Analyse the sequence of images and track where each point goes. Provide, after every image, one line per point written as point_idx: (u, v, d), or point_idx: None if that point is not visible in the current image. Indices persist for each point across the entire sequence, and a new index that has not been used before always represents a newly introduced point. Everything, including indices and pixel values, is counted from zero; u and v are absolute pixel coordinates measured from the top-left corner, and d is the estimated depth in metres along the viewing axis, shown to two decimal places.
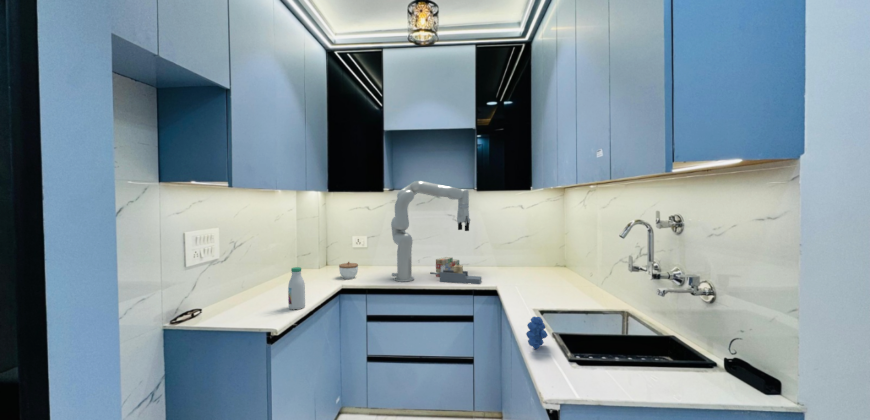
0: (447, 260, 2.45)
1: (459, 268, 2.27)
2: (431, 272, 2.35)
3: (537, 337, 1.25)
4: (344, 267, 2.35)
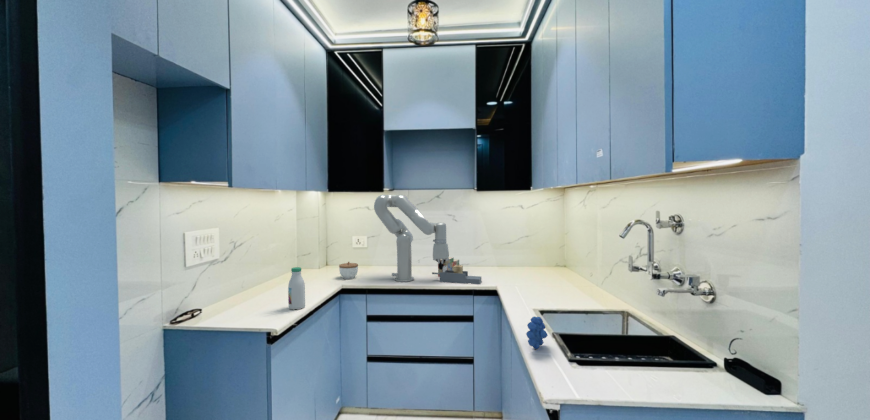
0: (449, 260, 2.45)
1: (459, 268, 2.27)
2: (433, 272, 2.34)
3: (537, 337, 1.25)
4: (344, 267, 2.35)
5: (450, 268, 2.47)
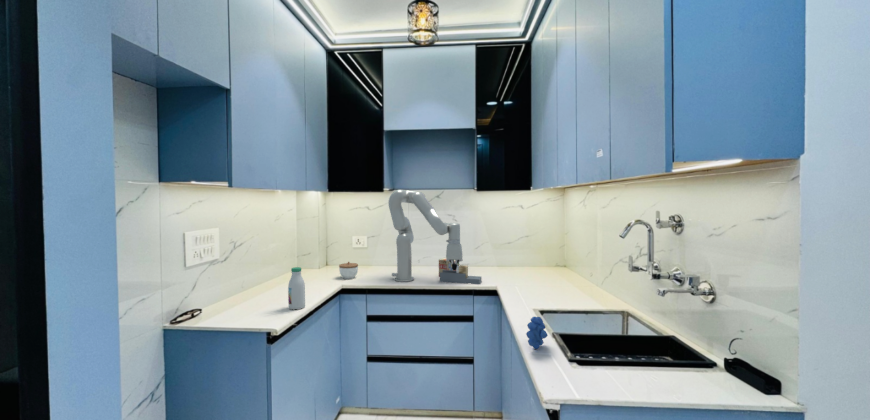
0: None
1: (464, 268, 2.26)
2: None
3: (537, 337, 1.25)
4: (344, 267, 2.35)
5: (450, 268, 2.47)
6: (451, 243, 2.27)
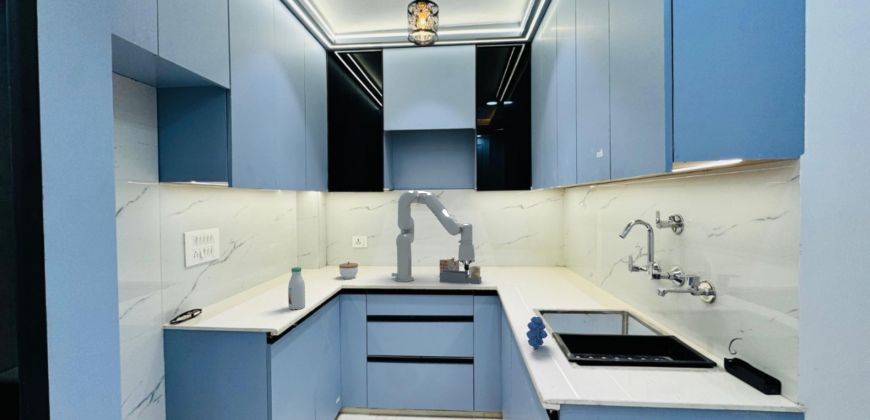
0: (450, 260, 2.46)
1: (477, 269, 2.24)
2: None
3: (537, 337, 1.25)
4: (344, 267, 2.35)
5: (451, 268, 2.47)
6: (463, 244, 2.25)
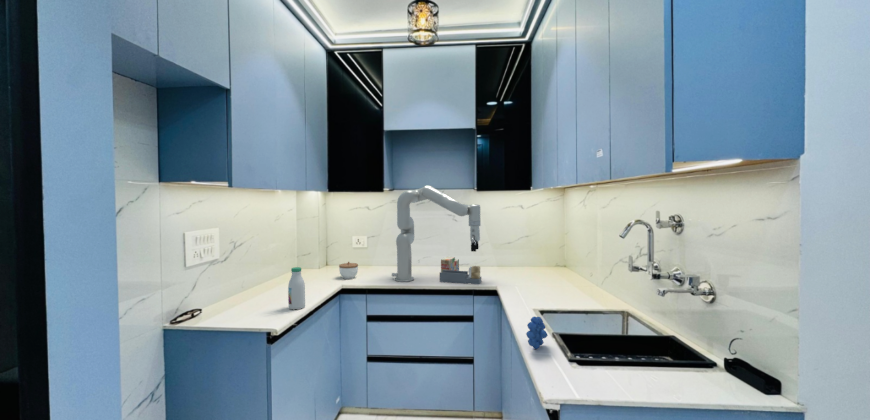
0: (451, 260, 2.46)
1: (477, 269, 2.24)
2: None
3: (537, 337, 1.25)
4: (344, 267, 2.35)
5: (452, 268, 2.47)
6: (479, 224, 2.24)
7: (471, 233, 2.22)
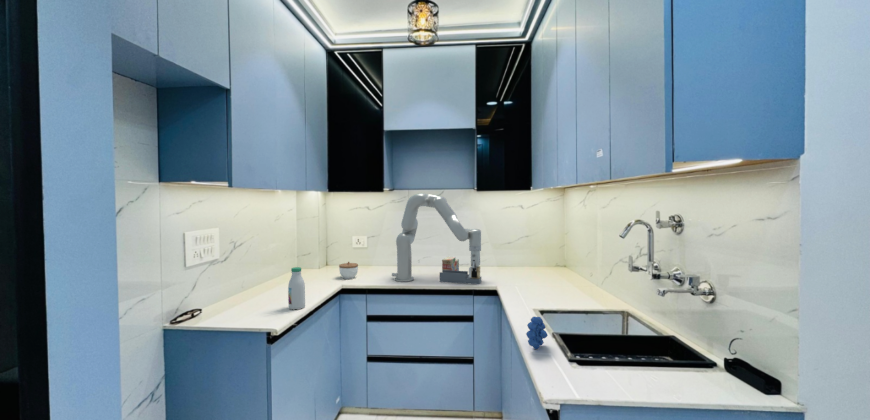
0: (452, 260, 2.46)
1: (477, 269, 2.24)
2: None
3: (537, 337, 1.25)
4: (344, 267, 2.35)
5: (453, 268, 2.48)
6: (480, 249, 2.25)
7: (471, 258, 2.23)
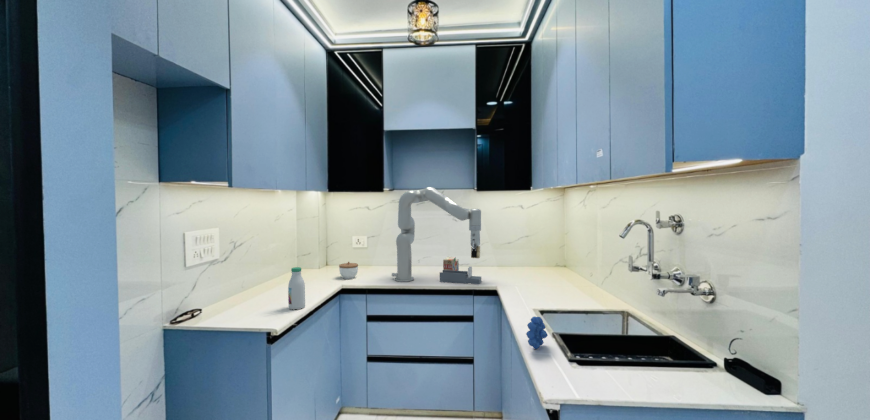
0: (453, 260, 2.46)
1: (477, 248, 2.24)
2: None
3: (537, 337, 1.25)
4: (344, 267, 2.35)
5: (454, 268, 2.48)
6: (480, 229, 2.24)
7: (471, 237, 2.22)
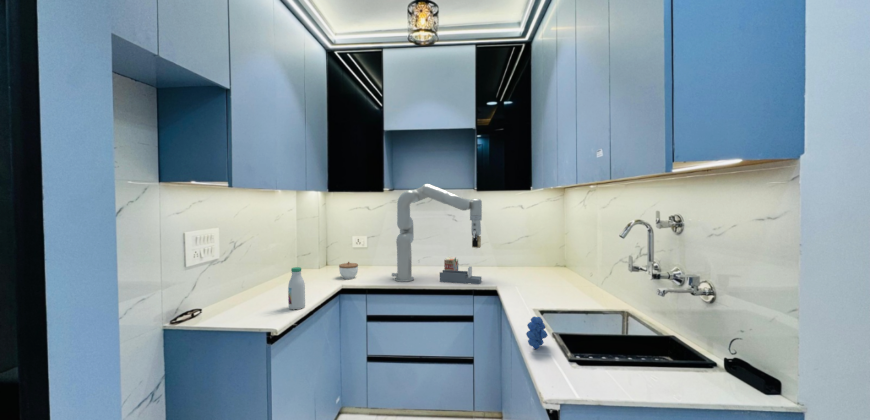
0: (454, 260, 2.47)
1: (477, 238, 2.26)
2: None
3: (537, 337, 1.25)
4: (344, 267, 2.35)
5: (454, 268, 2.48)
6: (480, 219, 2.27)
7: (472, 227, 2.25)
